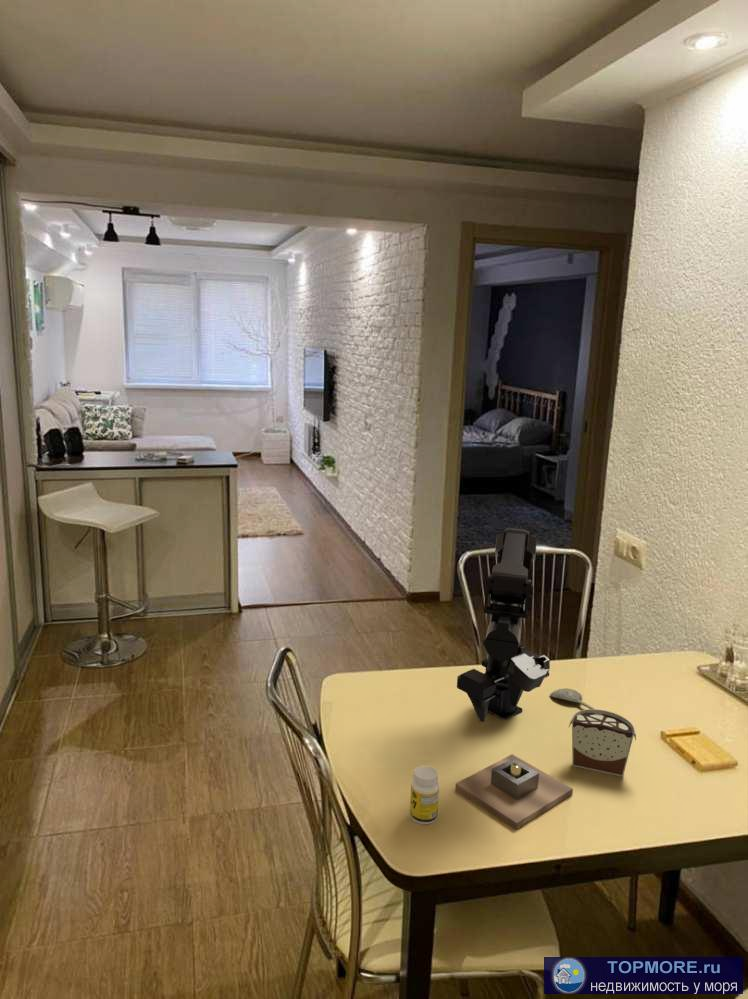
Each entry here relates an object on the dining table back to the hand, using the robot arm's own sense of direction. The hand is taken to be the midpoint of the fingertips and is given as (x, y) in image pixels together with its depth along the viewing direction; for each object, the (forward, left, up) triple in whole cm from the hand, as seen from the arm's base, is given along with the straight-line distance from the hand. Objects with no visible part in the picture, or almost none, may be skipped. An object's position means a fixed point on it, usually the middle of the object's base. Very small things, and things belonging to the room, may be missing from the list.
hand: (498, 713), depth 136 cm
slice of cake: (-18, +11, -12) cm, 24 cm away
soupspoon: (-34, -2, -12) cm, 36 cm away
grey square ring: (+3, +7, -10) cm, 13 cm away
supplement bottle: (+21, +2, -12) cm, 24 cm away
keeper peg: (+3, +7, -10) cm, 13 cm away
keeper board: (+3, +7, -11) cm, 14 cm away
